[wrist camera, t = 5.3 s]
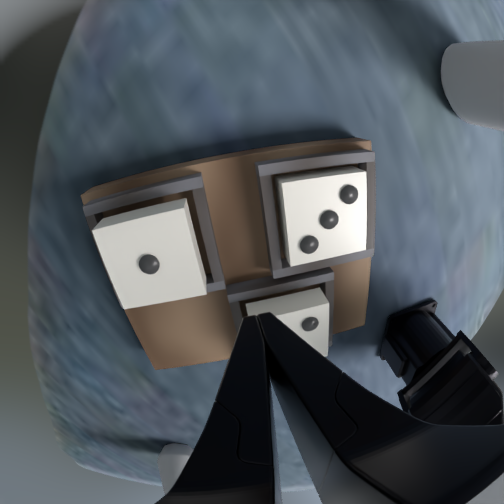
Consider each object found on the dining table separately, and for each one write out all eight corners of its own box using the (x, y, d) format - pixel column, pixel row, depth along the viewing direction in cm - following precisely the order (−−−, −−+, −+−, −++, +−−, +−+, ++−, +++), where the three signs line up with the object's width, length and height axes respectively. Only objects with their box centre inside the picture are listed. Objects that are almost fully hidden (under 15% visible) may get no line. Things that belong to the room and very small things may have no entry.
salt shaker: (149, 445, 31) (148, 526, 20) (179, 437, 31) (183, 525, 19) (177, 458, 34) (180, 532, 22) (206, 450, 33) (215, 530, 22)
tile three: (351, 165, 17) (367, 172, 15) (353, 238, 19) (366, 250, 17) (274, 176, 16) (282, 183, 14) (283, 252, 18) (291, 267, 17)
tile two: (319, 287, 19) (330, 304, 17) (320, 339, 21) (328, 357, 19) (245, 303, 18) (249, 322, 17) (256, 355, 21) (260, 374, 19)
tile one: (186, 197, 15) (183, 208, 13) (206, 277, 17) (206, 295, 15) (102, 218, 15) (90, 231, 13) (129, 292, 17) (123, 310, 15)
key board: (356, 137, 18) (381, 142, 15) (355, 311, 25) (370, 334, 22) (92, 187, 17) (72, 201, 14) (157, 353, 23) (154, 380, 21)
